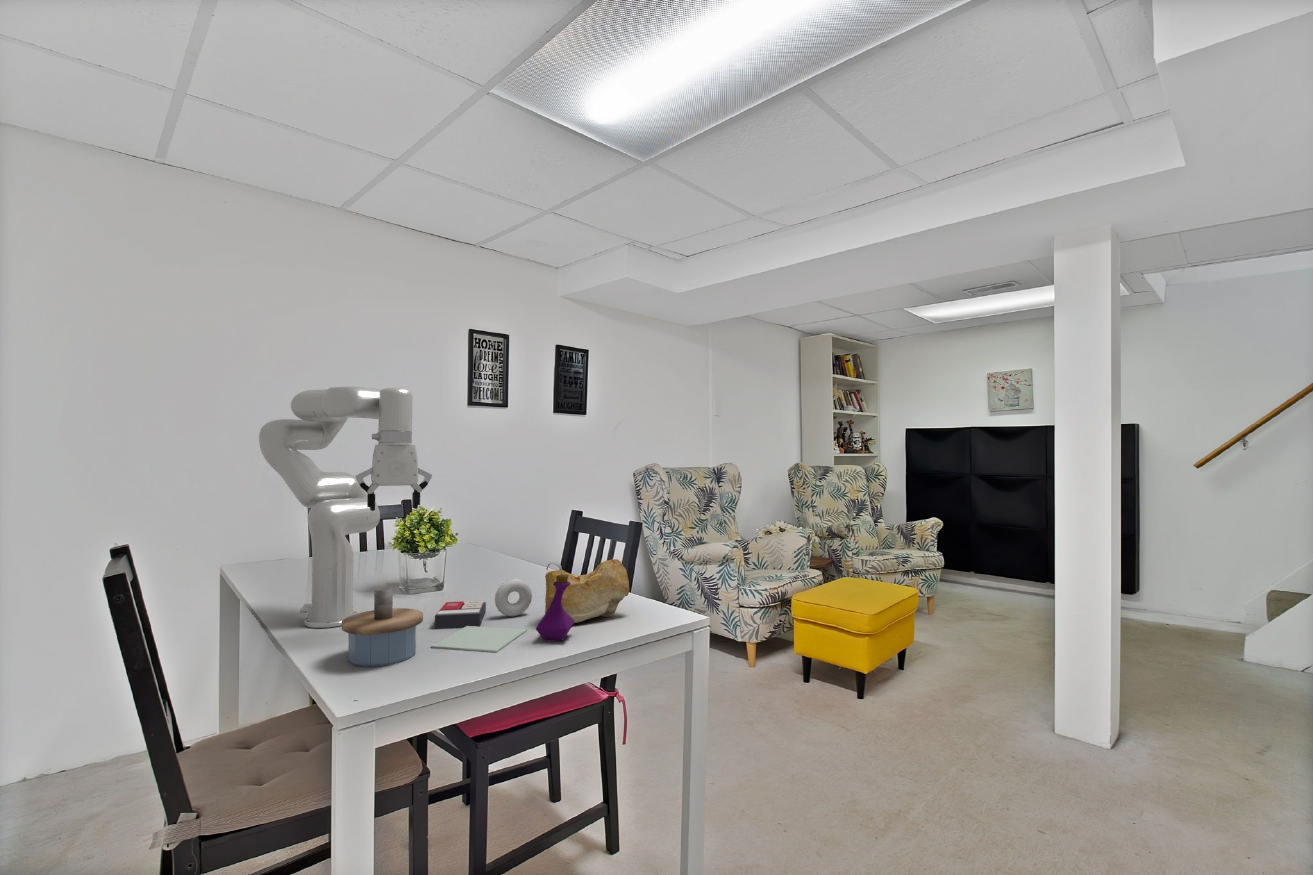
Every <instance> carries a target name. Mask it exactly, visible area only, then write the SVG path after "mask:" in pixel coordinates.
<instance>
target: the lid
mask: <svg viewBox="0 0 1313 875" xmlns="http://www.w3.org/2000/svg"><path fill="white" fill-rule="evenodd" d="M393 590H394V589H393V588H392V587H382V588H381V587H380V588H378V589H377V588H376V589H374V591H373V592H374V594H373V595H374V599H373V602H374V603H373V604H374V605H373V606H374V608H373V609H372V610H369V611H368V610H367V611H363V612H358V614H355V615H352V616H349V617H347V618H345V619H344V620H343V621H342V625H341V631H343V632H345V633H346V634H349V633H351V634H361V635H370V634H383V633H391V632H396V631H401V630H405V629H409V628H412V627H414V626H416V627H417V626H418V625H420V624H422V623H423V621H424V613H423V612H422V611H421V610H418V609H414V608H405V607H398V608H397V607H395V608H394V607H393V602H394V601H393V600H394V598H393V594H394V592H393Z"/></svg>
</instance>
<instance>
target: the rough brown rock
mask: <svg viewBox="0 0 1313 875" xmlns="http://www.w3.org/2000/svg"><path fill="white" fill-rule="evenodd" d="M562 573H563V574H567V575H569V577H568V580H567V581H568V582H570V586H567V588H566V589H565V590H564V593H563V596H562V607H563V609H564V610H565V611H566V613H567V614H568V615H569V616H570V617H571V618H572V619H573V620H574V623H573V624H577V623H582V622H584V621H586V620H589V619H593V618H597V617H600V616H601V617H603V618H608V617H609V618H610V617H612V616H613V615H615V613H616V611H617V608H618V606H619V604H620V602H621V601H623V600H624V598H626V597H627V596H628V595H629V593H630V581H629V576H628V572H627V569H626V568H625V567H624V565H623V562H622V561H621V560H620V559H617V558H611V559H609V560H604V561H602V562H600V563H599V564H598V565H597V567H595V569H594V570H593V571H591V572H589V573H586V574H582V575H578V576H576V575H574V574H572V573H569V572H567V571H566V570H563V569H562V572H561V570H560V569H555V570H550V571H549V570H548V571H547V572H546V573H545V576H544V577H545V600H544V601H545V608H544V609H545V610H544V613H546V612H547V610H548V608H549V606H550V604H551V602H552V600H553V598H554V595H555V592H556V588H555V586H554V585H553V583H554V582H556V577H557V576H558V575H562Z"/></svg>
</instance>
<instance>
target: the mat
mask: <svg viewBox="0 0 1313 875" xmlns="http://www.w3.org/2000/svg"><path fill="white" fill-rule="evenodd" d="M527 631H528V630H527V629H524V628H523V629H522V628H509V627H508V628H506V627H492V626H491V627H488V626H480V627H477V626H466V627H464V628H459V630H457V631H455V632H453V633H452V634H449V635H448V636H446V637H445V638H443V639H441V640H438V642H435V643H434V644H432V645H430V648H431V649H441V650H442V649H443V650H456V651H457V650H458V651H468V652H469V651H471V652H472V651H473V652H487V653H498V652H500V651H502V649H504V648H505V647H507V646H508V645H509V644H511V643H512V642H514V641H516V640H517V639H518V638H519V637H520V636H523V634H525V633H526V632H527Z"/></svg>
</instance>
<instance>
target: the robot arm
mask: <svg viewBox="0 0 1313 875" xmlns="http://www.w3.org/2000/svg"><path fill="white" fill-rule="evenodd" d="M290 410H291V411H292V414H294V416H296V417H297V419H295V418H294V419H293V418H291V419H290V418H282V419H273V420H270V421H267V422H266V423H265V424H263V425H262V427H261V428H260V429H259V430H260V431H259V432H258V433H259V434H258V443H259V448H260V451H261V453H262V456H263V458H264V459H265V461H266V462H267V463H268V465H269V466H270V468H272V469H273V470H275V472H277V474H279V476H280V477H281V478H282V480H283V481H284V483H285V484H286V485H287V487H288V488H289V490H290V491H291V492H292V493H293V496H295V498H296V499H297V500H298V502H299V503H300V504H301V505H302V506H303V507H305V508H308V509H309V511H308V515H307V522H308V529H309V533H310V540H311V603H304V604H303V605H302V607H300V609H299V611H300V613H303V614H307V617H306V618H305V619H304V620H303V622H304V626H306V627H308V628H315V629H316V628H317V629H323V628H327V629H328V628H334V627H340V626H341V627H342V621H343V620H344V619H345V618H347V617H349V616H352V615H355V614H358V613H359V612H357V611H354V561H355V560H354V550H353V547H352V544H351V543H350V542H349V540H348V539H347V537H346V536H347V535H352V534H358V533H359V534H361V533H367V532H370V531H372V530H374V529H375V528H376V527H377V526H378V525H379V522H380V521H381V520H380V519H381V512H380V508H379V506H378V504H377V502H376V494H375V491H376V490H377V489H378V487H393V486H397V487H400V486H401V487H402V486H410V487H411V488H412V489H413V492H412V493H411V494H412V495H411V496H412V497H411V498H412V499H411V500H412V502H411V503H412V504H411V505H412V507H411V508H413V509H414V510H417V509H419V508H418V506H420V505H421V493H422V491H423V490H424V489H425V488H426V487H427V486H428V485H429V483H430V481H431V479H432V477H433V474H431V473H430V472H427V471H425V470H424V469H421V468H419V466H418V465H419V464H418V452H417V446H416V444H412V443H413V437H412V436H413V432H412V431H413V392H412V391H411V390H409V389H407V388H401V387H386V388H382V389H380V388H379V389H378V388H371V387H363V386H362V387H360V386H334V387H329V388H325V389H324V388H323V389H308V390H302V391H300V392H299V393H297V394H295V395H294V396H293V398H292V399H291V402H290ZM349 418H352V419H368V420H369V419H372V420H378V427H377V429H378V430H377V433H371V439H372V440H375V441H377V444H375V446H374V450H373V453H372V454H373V455H372V462H371V467H370V468H368V469H366V470H363V471H362V472H360V473H358V474H355V475H353V474H351V473H349V472H344V471H343V472H342V471H334V472H333V471H331V472H328V471H323V470H322V469H320V468H319V467H318V466H317V465H316V463H315V462H314V461H313V459H311V457H309V456H307V455H306V454H305V453H303V452H301V451H319V450H323V449H326V448H327V447H328V446H330V445H331V443H332V442H333V441H334V439H335V438H336V436H337V435H338V433H339V432H340V431H341V430H342V428H343V427H344V425H345V424H346V422H347V421H348V419H349ZM370 475H371V476H370ZM419 475H420V476H422V477H423V480H422V481H421V483H419V484H418V481H419ZM368 476H370V477H371V478H370V480H371V483H370V485H368V484H367V483H366V482H365V480H364V478H366V477H368Z"/></svg>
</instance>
